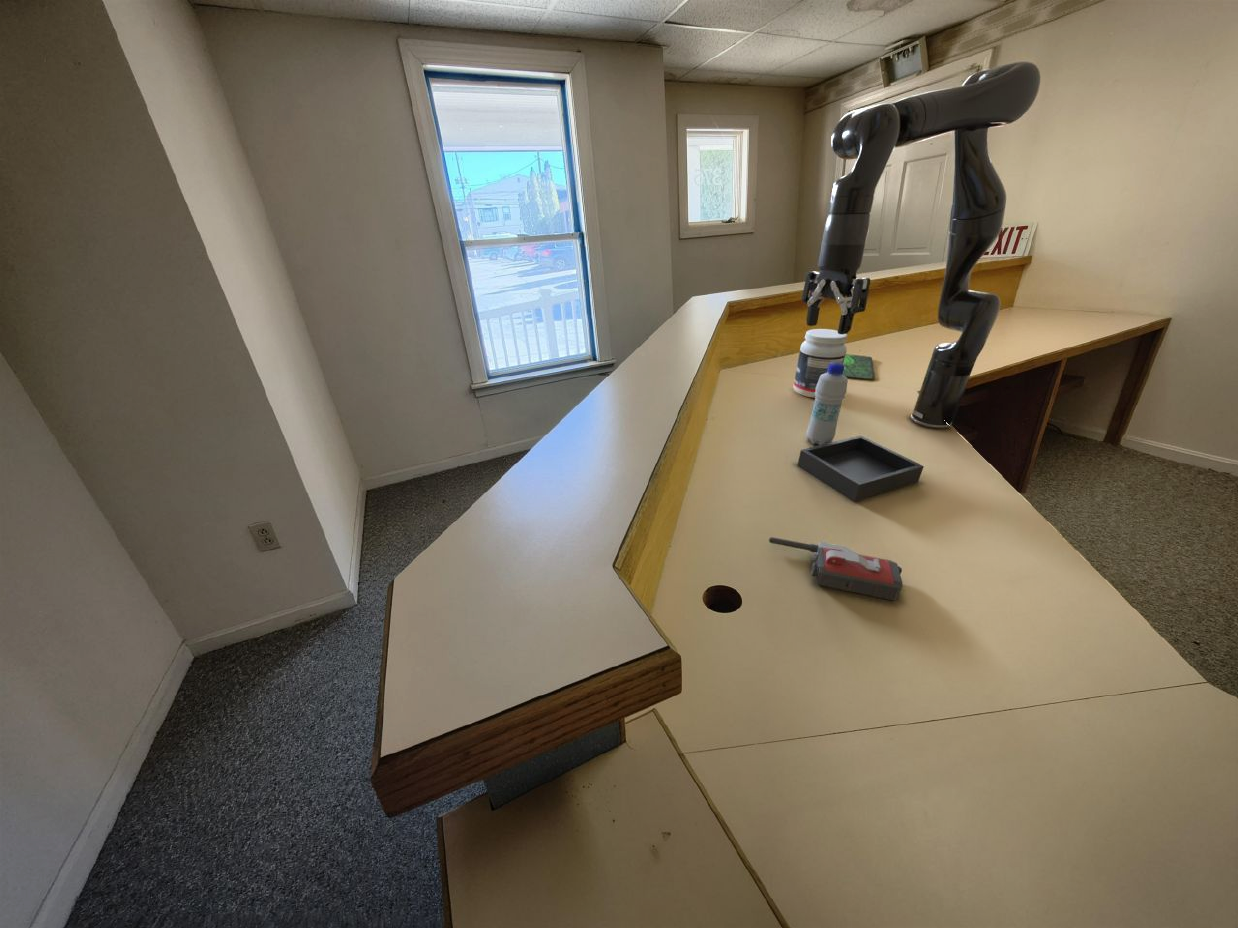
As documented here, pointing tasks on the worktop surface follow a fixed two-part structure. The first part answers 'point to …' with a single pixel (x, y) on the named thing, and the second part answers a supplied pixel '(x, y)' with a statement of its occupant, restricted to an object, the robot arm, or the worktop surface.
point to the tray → (859, 467)
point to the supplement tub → (818, 358)
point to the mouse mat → (858, 367)
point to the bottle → (827, 405)
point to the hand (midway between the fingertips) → (826, 329)
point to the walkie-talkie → (851, 569)
